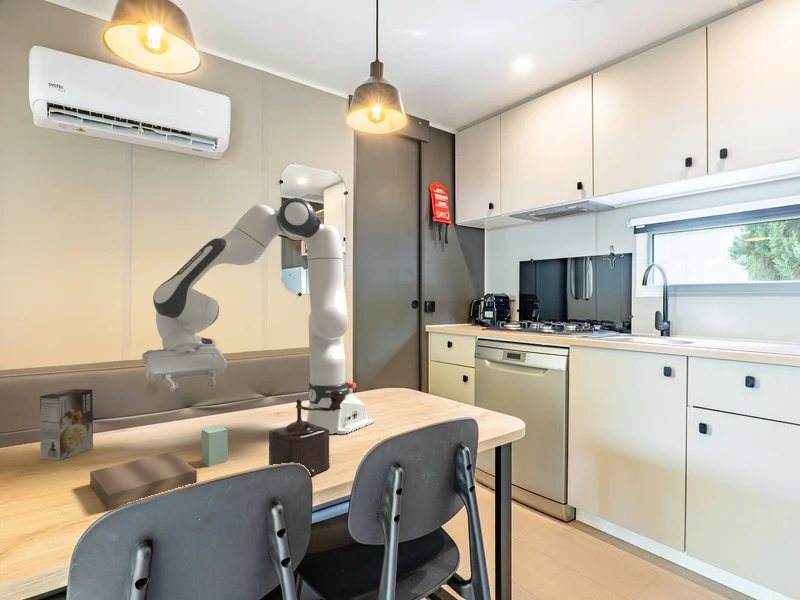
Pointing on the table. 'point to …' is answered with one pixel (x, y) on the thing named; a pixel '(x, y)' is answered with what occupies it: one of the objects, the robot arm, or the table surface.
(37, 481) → the table surface
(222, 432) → the sage block
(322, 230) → the robot arm
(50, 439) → the coffee box
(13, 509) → the table surface
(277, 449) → the manual coffee grinder
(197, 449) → the table surface
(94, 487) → the walnut platform
